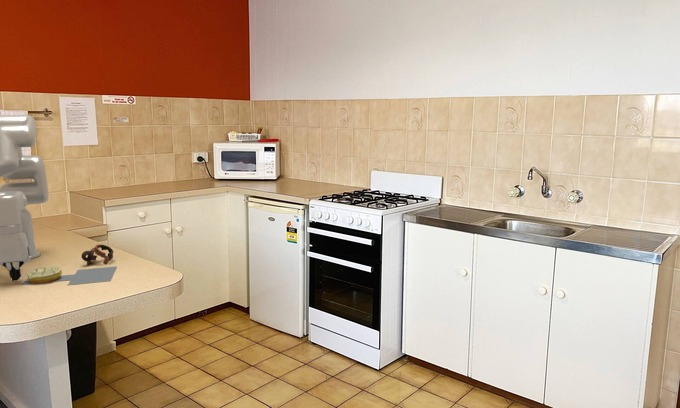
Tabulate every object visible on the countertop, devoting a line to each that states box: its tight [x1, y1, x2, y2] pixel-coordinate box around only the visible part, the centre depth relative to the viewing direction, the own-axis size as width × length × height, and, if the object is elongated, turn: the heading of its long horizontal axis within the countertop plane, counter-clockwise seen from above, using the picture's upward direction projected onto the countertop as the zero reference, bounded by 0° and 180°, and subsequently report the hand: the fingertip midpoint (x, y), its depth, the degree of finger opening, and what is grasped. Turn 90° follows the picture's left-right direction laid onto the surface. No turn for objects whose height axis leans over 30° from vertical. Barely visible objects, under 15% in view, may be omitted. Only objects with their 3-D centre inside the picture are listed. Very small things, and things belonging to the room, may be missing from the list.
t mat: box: [21, 265, 118, 286], centre depth 194 cm, size 30×19×1 cm, turn 106°
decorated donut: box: [27, 266, 63, 284], centre depth 191 cm, size 10×11×4 cm
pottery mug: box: [81, 244, 114, 265], centre depth 211 cm, size 12×10×8 cm
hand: (15, 279), depth 189 cm, fingers closed
